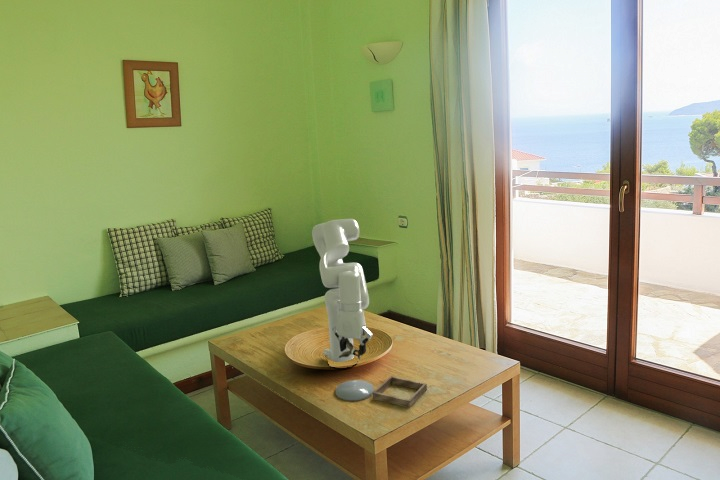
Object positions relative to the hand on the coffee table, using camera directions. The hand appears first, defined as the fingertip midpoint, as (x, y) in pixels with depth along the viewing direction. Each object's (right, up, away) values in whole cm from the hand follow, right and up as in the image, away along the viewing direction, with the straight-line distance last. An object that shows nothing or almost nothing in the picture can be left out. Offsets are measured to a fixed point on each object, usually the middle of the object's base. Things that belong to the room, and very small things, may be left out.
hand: (352, 351), depth 211 cm
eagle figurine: (-1, -2, +1) cm, 3 cm away
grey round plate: (+1, -15, +3) cm, 16 cm away
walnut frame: (+17, -15, 0) cm, 23 cm away
